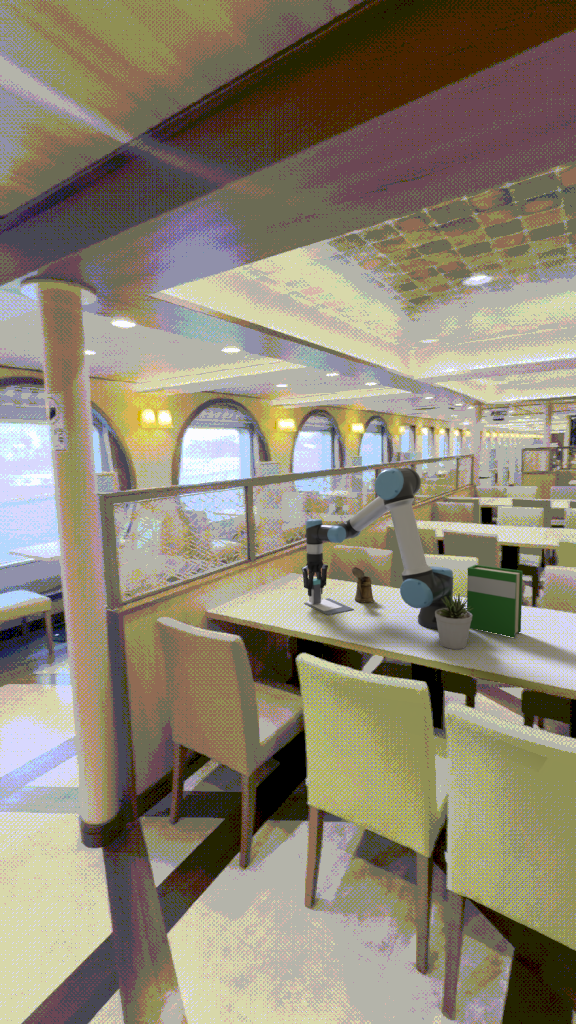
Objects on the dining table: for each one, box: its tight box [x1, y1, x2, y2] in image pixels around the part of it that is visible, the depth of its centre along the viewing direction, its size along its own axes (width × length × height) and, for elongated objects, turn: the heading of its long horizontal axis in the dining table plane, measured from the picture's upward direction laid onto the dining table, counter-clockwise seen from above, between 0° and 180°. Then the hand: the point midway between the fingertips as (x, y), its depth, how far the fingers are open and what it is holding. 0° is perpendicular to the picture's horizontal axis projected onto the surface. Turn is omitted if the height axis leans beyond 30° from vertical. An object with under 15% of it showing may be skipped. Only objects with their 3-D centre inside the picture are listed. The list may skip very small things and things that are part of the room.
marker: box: [312, 577, 322, 604], centre depth 211 cm, size 4×4×11 cm
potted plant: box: [435, 593, 473, 650], centre depth 161 cm, size 13×14×20 cm
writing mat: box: [303, 597, 355, 616], centre depth 209 cm, size 20×14×1 cm
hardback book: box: [466, 564, 523, 638], centre depth 174 cm, size 18×7×24 cm, turn 46°
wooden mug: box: [351, 566, 374, 604], centre depth 215 cm, size 9×14×18 cm, turn 145°
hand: (315, 601), depth 212 cm, fingers closed on marker, 3 cm apart
